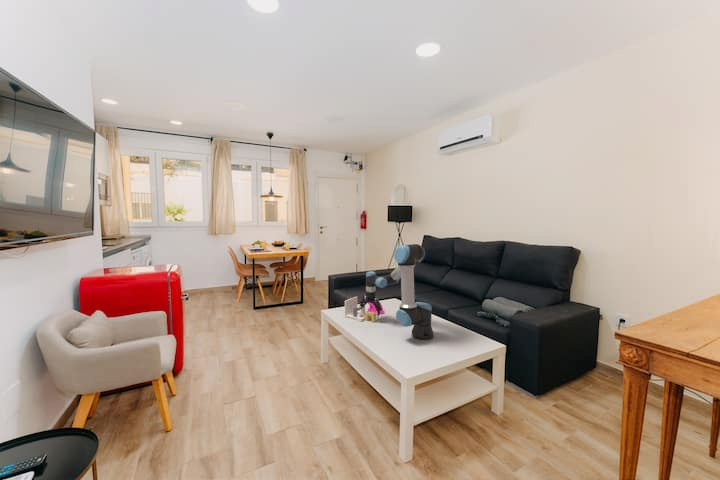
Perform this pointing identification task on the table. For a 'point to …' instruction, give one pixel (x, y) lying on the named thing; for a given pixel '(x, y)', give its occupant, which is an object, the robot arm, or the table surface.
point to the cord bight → (368, 314)
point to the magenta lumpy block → (373, 309)
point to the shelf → (353, 310)
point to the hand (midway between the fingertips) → (370, 317)
